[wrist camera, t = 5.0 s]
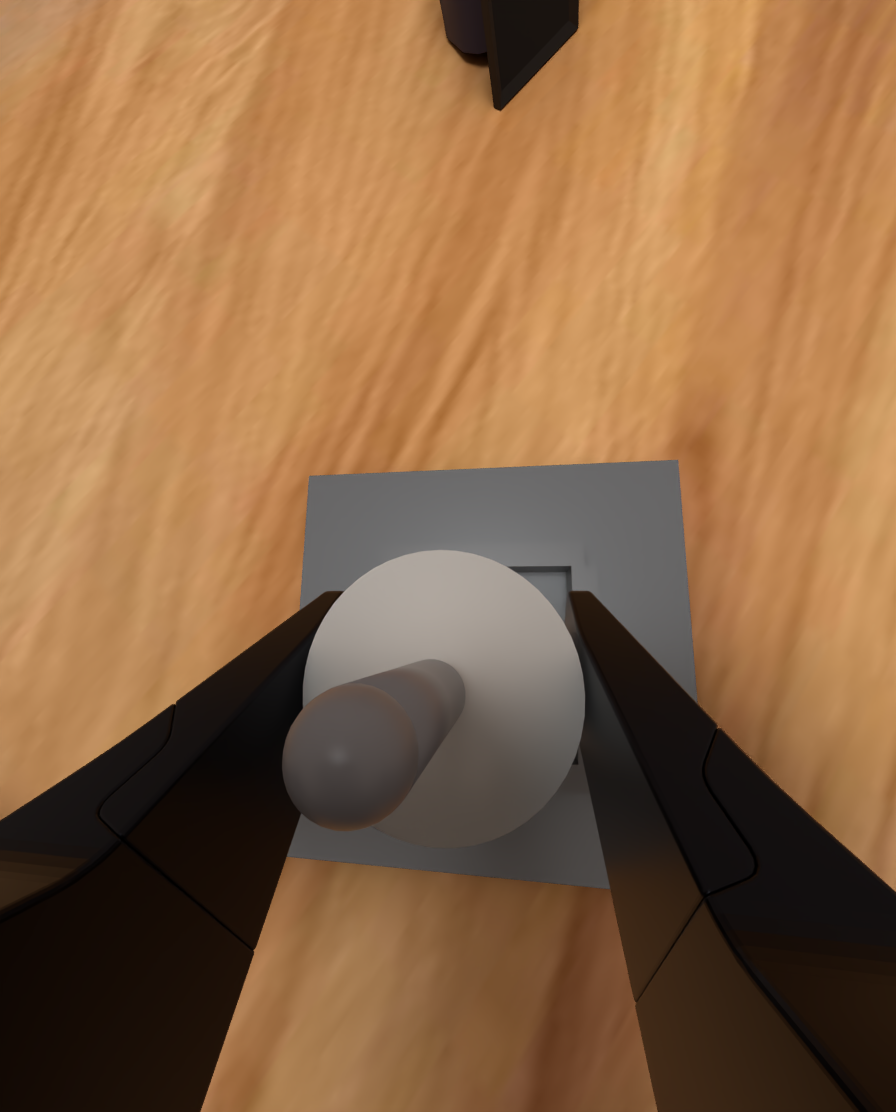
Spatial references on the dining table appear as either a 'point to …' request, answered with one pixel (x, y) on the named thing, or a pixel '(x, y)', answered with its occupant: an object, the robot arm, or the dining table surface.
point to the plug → (436, 704)
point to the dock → (549, 565)
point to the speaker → (510, 36)
